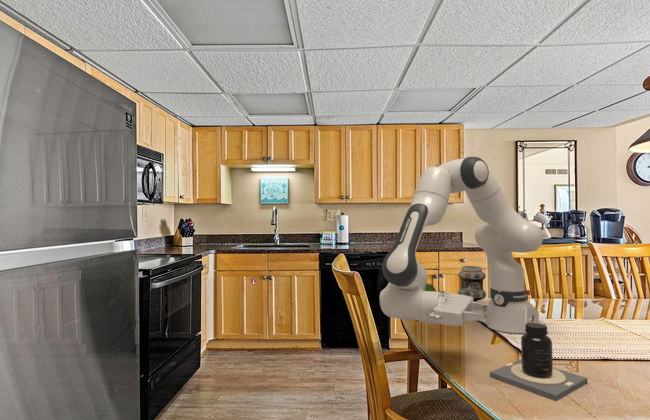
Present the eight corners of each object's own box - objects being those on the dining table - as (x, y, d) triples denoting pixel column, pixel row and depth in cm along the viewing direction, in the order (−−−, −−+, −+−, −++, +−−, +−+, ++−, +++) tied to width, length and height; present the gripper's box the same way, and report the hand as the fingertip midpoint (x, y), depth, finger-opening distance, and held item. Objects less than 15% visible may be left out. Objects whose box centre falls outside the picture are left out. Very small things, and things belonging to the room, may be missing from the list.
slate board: (523, 362, 108) (522, 356, 108) (587, 382, 94) (587, 375, 94) (489, 376, 99) (489, 369, 99) (555, 400, 85) (555, 392, 85)
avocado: (416, 311, 168) (416, 283, 168) (426, 308, 173) (426, 281, 174) (433, 314, 162) (432, 285, 162) (442, 311, 167) (442, 283, 168)
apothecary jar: (490, 305, 177) (489, 266, 177) (480, 310, 168) (479, 269, 168) (464, 301, 185) (464, 264, 185) (453, 306, 176) (453, 266, 177)
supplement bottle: (516, 368, 99) (515, 321, 100) (541, 367, 100) (540, 320, 100) (532, 379, 92) (531, 329, 93) (559, 378, 93) (558, 328, 93)
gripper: (423, 304, 101) (479, 309, 94) (442, 289, 119) (490, 293, 112) (424, 328, 101) (480, 335, 94) (443, 310, 119) (491, 314, 112)
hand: (486, 312), depth 103 cm, fingers open, 8 cm apart
